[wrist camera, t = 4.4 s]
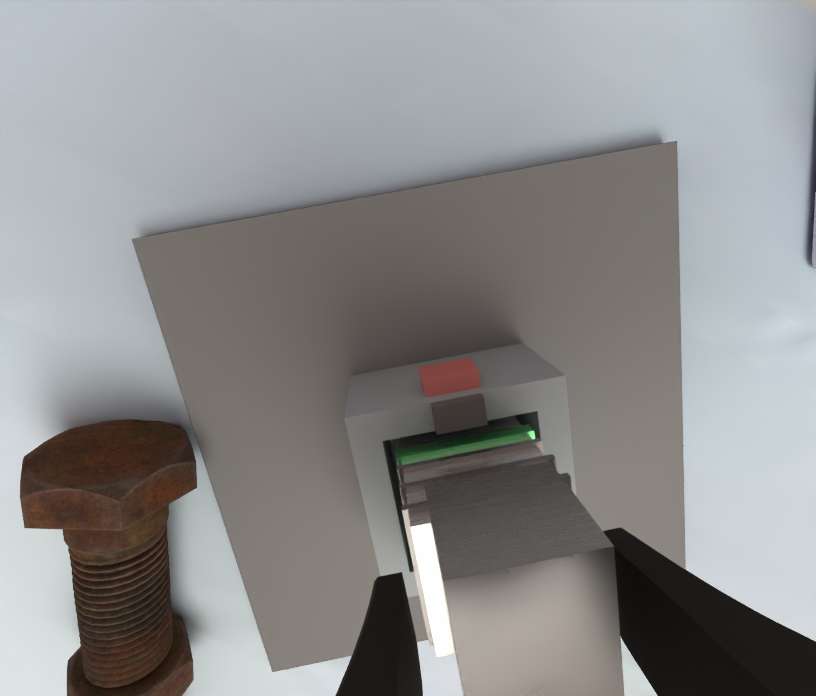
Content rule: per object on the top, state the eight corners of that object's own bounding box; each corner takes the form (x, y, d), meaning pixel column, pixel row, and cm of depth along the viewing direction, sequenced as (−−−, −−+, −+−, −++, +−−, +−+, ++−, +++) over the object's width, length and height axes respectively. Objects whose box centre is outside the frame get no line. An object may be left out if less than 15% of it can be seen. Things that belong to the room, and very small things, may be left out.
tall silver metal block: (514, 386, 16) (651, 538, 8) (532, 536, 17) (661, 783, 10) (389, 410, 15) (405, 589, 8) (418, 559, 17) (457, 828, 9)
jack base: (663, 144, 18) (784, 109, 13) (675, 573, 23) (764, 675, 18) (142, 238, 17) (42, 243, 12) (275, 656, 22) (246, 786, 17)
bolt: (158, 667, 24) (140, 404, 20) (230, 716, 22) (226, 436, 18) (32, 781, 19) (-27, 461, 15) (111, 857, 17) (68, 514, 13)
